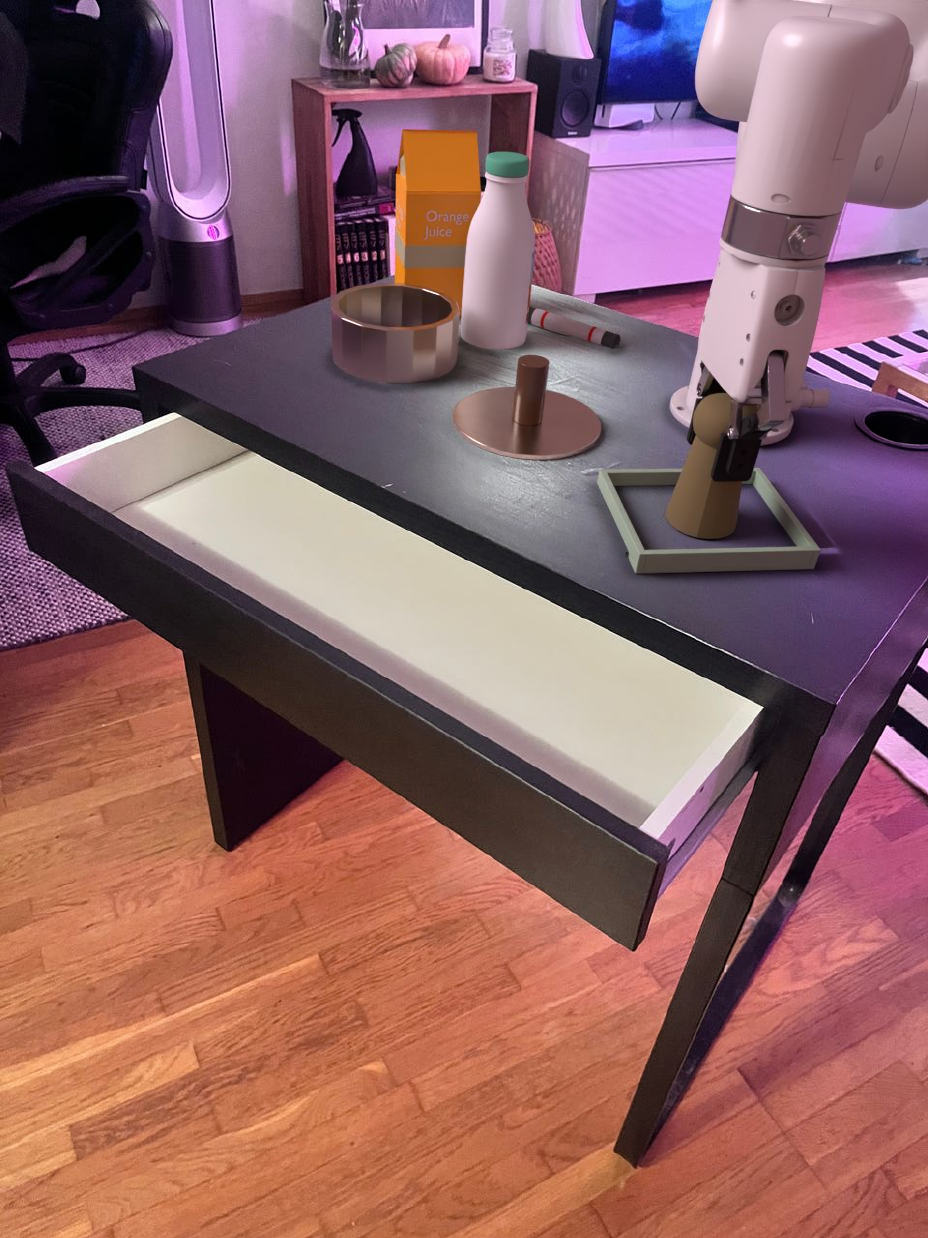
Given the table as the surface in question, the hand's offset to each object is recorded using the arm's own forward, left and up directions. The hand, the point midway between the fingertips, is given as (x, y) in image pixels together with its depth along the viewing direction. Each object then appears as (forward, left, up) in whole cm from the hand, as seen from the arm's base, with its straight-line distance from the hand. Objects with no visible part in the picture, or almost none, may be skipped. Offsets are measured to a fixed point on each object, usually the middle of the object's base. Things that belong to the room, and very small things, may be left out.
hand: (717, 458), depth 75 cm
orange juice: (+18, -51, -7) cm, 55 cm away
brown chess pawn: (0, 0, -6) cm, 6 cm away
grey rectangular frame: (0, 0, -7) cm, 7 cm away
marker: (+3, -43, -7) cm, 43 cm away
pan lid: (+12, -18, -6) cm, 23 cm away
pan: (+24, -34, -7) cm, 42 cm away
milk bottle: (+12, -40, -7) cm, 42 cm away
